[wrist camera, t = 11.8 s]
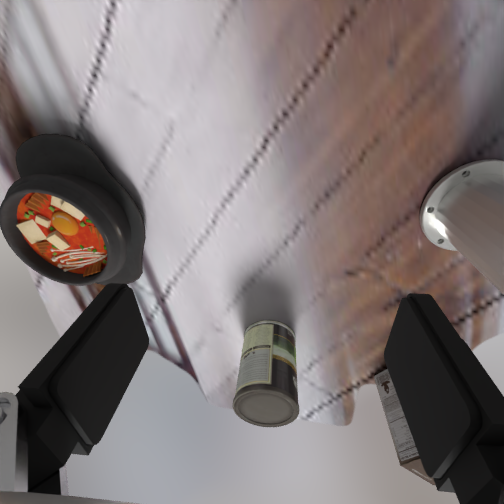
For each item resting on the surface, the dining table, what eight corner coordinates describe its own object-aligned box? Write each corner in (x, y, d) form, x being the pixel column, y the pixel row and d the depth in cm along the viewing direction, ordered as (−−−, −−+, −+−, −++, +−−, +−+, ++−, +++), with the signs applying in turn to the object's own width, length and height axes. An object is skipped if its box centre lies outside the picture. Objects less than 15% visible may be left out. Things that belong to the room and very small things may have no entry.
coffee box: (426, 382, 57) (471, 476, 43) (400, 394, 60) (434, 486, 46) (397, 361, 55) (435, 455, 41) (371, 376, 58) (398, 467, 44)
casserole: (170, 276, 49) (151, 309, 42) (76, 281, 51) (43, 313, 44) (116, 122, 36) (74, 132, 29) (-5, 140, 39) (-70, 153, 32)
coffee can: (300, 324, 52) (306, 397, 40) (289, 358, 57) (291, 432, 45) (246, 315, 52) (235, 385, 40) (240, 350, 57) (229, 421, 45)
